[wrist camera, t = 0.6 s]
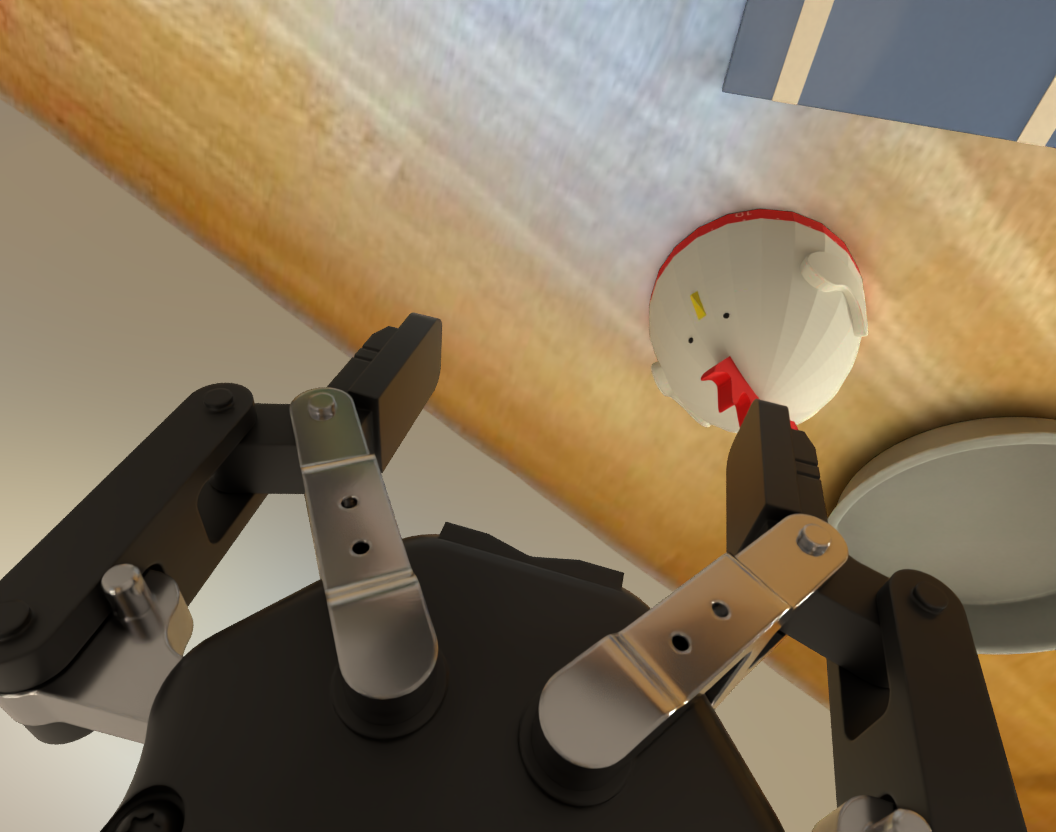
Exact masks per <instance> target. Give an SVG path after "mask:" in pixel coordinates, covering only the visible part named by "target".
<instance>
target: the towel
mask: <svg viewBox="0 0 1056 832" xmlns="http://www.w3.org/2000/svg"><path fill="white" fill-rule="evenodd" d="M722 92H726V93H732V94H738V95H744V96H750V97H756V98H762V99H768V100H772V101H776V102H782V103H788V104H794V105H803V106H809V107H815V108H821V109H827V110H833V111H839V112H845V113H851V114H857V115H863V116H869V117H875V118H881V119H886V120H892V121H898V122H904V123H910V124H916V125H922V126H928V127H934V128H940V129H946V130H952V131H958V132H964V133H970V134H976V135H982V136H988V137H993V138H999V139H1005V140H1011V141H1016V142H1020V143H1026V144H1032V145H1038V146H1043V147H1044V146H1047V147H1053V148H1056V0H747V2H746V6H745V9H744V13H743V16H742V20H741V23H740V27H739V31H738V34H737V38H736V41H735V45H734V49H733V52H732V56H731V59H730V63H729V66H728V70H727V74H726V77H725V81H724V84H723V88H722Z"/></svg>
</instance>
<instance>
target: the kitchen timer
mask: <svg viewBox="0 0 1056 832" xmlns="http://www.w3.org/2000/svg"><path fill="white" fill-rule="evenodd" d="M649 327H650V340H651V343H652V346H653V349H654V352H655V354H656V357H657V360H658V362H655V363H653V364H652V366H651V370H652V374H653V377H654V380H655V382H656V384H657V386H658V388H659V390H660V391H661V393H662V394H663V395H665V396H668V397H671V398H672V399H674V400H675V401H676V402H677V403H678V404H680V405H681V406H682V407H683V408H684V409H685V410H686V411H687V412H688V413H689V414H690V415H691V416H692V417H693V418H694V419H695V420H696V421H697V422H698V423H699V424H700V425H702V426H704V427H709V426H710V425H711V424H712V425H714V426H716V427H719V428H721V429H724V430H726V431H729V432H734V433H738V431H739V429H740V427H741V425H742V423H743V421H744V418H745V416H746V414H747V412H748V410H749V408H750V406H751V404H752V402H753V401H754V400H755V399H760V400H764V401H768V402H772V403H776V404H780V405H784V406H787V407H788V409H789V416H790V424H791V429H795V430H798V428H797V426H796V425H798V424H800V423H802V422H803V421H805V420H807V419H809V418H811V417H812V416H813V415H815V414H816V413H817V412H818V411H819V410H820V409H821V408H822V407H823V406H825V405H826V404H827V403H828V402H829V401H830V400H831V399H832V398H833V397H834V396H835V395H836V393H837V392H838V390H839V389H840V387H841V385H842V384H843V382H844V381H845V379H846V377H847V376H848V374H849V372H850V371H851V369H852V367H853V364H854V361H855V358H856V355H857V352H858V349H859V345H860V341H861V336H867V335H868V322H867V315H866V304H865V297H864V290H863V283H862V277H861V274H860V272H859V269H858V267H857V265H856V263H855V261H854V260H853V258H852V256H851V254H850V252H849V251H848V249H847V247H846V245H845V243H844V242H843V241H842V240H840V239H839V238H838V237H837V236H836V235H835V234H833V233H832V232H831V231H830V230H829V229H827V228H826V227H825V226H824V225H823V224H822V223H819V222H817V221H814V220H812V219H809V218H807V217H804V216H802V215H799V214H797V213H794V212H789V211H778V210H767V209H756V210H750V211H745V212H739V213H733V214H728V215H725V216H723V217H721V218H719V219H717V220H714V221H712V222H710V223H708V224H706V225H704V226H701V227H699V228H698V229H696V230H695V231H694V232H693V233H692V234H690V235H689V236H688V237H687V238H685V239H684V240H683V241H682V242H681V243H679V244H678V245H677V246H676V247H675V248H674V249H673V251H672V252H671V254H670V255H669V257H668V258H667V260H666V261H665V262H664V264H663V265H662V267H661V268H660V270H659V272H658V275H657V279H656V282H655V285H654V288H653V291H652V294H651V299H650V304H649Z"/></svg>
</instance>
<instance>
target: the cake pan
mask: <svg viewBox="0 0 1056 832" xmlns="http://www.w3.org/2000/svg"><path fill="white" fill-rule="evenodd" d="M828 524H830V525H831V526H832V527H834V528H835V529H836V530H837V531H838V532H839V533H840V534H841V536H842V537H843V538H844V540H845V542H846V544H847V547H848V551H849V554H848V555H850V556H851V557H852V558H854V559H855V560H857V561H858V562H860V563H862V564H864V565H866V566H868V567H869V568H871V569H873V570H875V571H877V572H879V573H881V574H883V575H885V576H887V577H889V578H890V577H891V576H892V575H893V574H894V573H895V572H896V571H898V570H902V569H914V570H918V571H922V572H924V573H927V574H929V575H931V576H933V577H935V578H937V579H938V580H940V581H941V582H942V583H944V584H945V585H946V586H948V587H949V588H950V589H951V590H952V591H953V592H954V593H955V594H956V596H957V597H958V598H959V600H960V601H961V603H962V605H963V607H964V609H965V612H966V615H967V619H968V623H969V626H970V630H971V633H972V637H973V640H974V644H975V647H976V651H977V654H1021V653H1034V652H1043V651H1052V650H1056V420H1052V419H1045V418H1034V417H997V418H984V419H976V420H970V421H965V422H959V423H955V424H950V425H946V426H942V427H939V428H936V429H932V430H929V431H926V432H923V433H921V434H918V435H916V436H913V437H911V438H908V439H906V440H904V441H902V442H900V443H898V444H896V445H894V446H892V447H891V448H889V449H887V450H885V451H884V452H882V453H881V454H879V455H878V456H876V457H875V458H874V459H872V460H871V461H869V462H868V463H867V464H866V465H865V466H864V467H862V468H861V469H860V470H859V471H858V472H857V474H856V475H855V476H854V477H853V478H852V479H851V480H850V482H849V483H848V484H847V486H846V487H845V489H844V490H843V492H842V494H841V496H840V498H839V501H838V503H837V506H836V508H835V509H834V510H833V512H832V513H831V515H830V516H829V518H828Z"/></svg>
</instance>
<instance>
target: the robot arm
mask: <svg viewBox="0 0 1056 832" xmlns="http://www.w3.org/2000/svg"><path fill="white" fill-rule="evenodd" d="M441 344H442V322H441V320H440V319H438V318H434V317H429V316H425V315H421V314H417V313H411V314H410V315H409V316H408V317H407V318H406V319H405V321H404V322H403V323H402V324H401V326H400V327H399V328H395V327H391V326H388V327H386V328H384V329H382V330H380V331H378V332H376V333H374V334H372V335H371V337H370V338H369V339H368V340H367V341H366V342H365V343H364V345H363V346H362V348H360V349H359V350H358V352H357V353H356V354H355V356H354V358H353V357H352V358H351V360H350V361H349V362H348V363H347V364H346V365H345V367H344V368H343V369H342V370H341V371H340V372H339V373H338V375H337V376H336V377H335V378H334V379H333V380H332V382H331V383H330V384H329V385H328V386H327V387H321V388H315V389H311V390H307V391H305V392H303V393H301V394H299V395H298V396H297V397H295V398H294V400H293V401H292V402H291V404H261V403H254V399H253V395H252V393H251V392H250V391H249V389H247V388H246V387H244V386H242V385H238V384H234V383H217V384H212V385H208V386H205V387H203V388H200V389H198V390H196V391H195V392H193V393H192V394H191V395H190V396H189V397H188V398H187V399H186V400H185V401H184V402H183V403H182V404H180V405H179V406H178V408H176V409H175V410H174V411H173V412H172V413H171V414H170V415H169V416H168V417H167V418H166V419H165V420H164V421H163V422H162V423H161V424H160V425H159V426H158V427H157V428H156V429H155V430H154V431H153V432H152V433H151V434H150V435H149V436H148V437H147V438H146V439H145V440H144V441H143V442H142V443H141V444H140V445H138V446H137V448H135V449H134V450H133V452H131V453H130V454H129V455H128V457H126V458H125V459H124V460H123V461H122V462H121V463H120V464H119V465H118V466H117V467H116V468H115V469H114V470H113V471H112V472H111V473H110V474H109V475H108V476H107V477H106V478H105V479H104V480H103V481H102V482H101V483H100V484H99V485H98V486H96V488H95V489H93V490H92V492H90V493H89V494H88V495H87V496H86V497H85V498H84V499H83V500H82V501H81V502H80V503H79V504H78V505H77V506H76V507H75V508H74V509H73V510H72V511H71V512H70V513H69V514H68V515H67V516H66V517H65V518H64V519H63V520H62V521H61V522H60V523H59V524H58V525H57V526H56V527H55V528H53V529H52V530H51V531H50V532H49V533H48V534H47V535H46V536H45V537H44V538H43V539H42V540H41V541H40V542H39V543H38V544H37V545H36V546H35V547H34V548H33V549H32V550H31V551H30V552H29V553H28V554H27V555H26V556H25V557H24V558H23V559H22V560H21V561H20V562H19V563H18V564H17V565H16V566H15V567H14V568H13V569H11V570H10V571H9V572H8V573H7V574H6V575H5V576H4V577H3V578H2V579H1V580H0V707H1V708H2V709H3V710H4V711H5V712H6V713H7V714H8V715H9V716H10V717H11V718H13V720H15V721H16V722H18V723H20V724H23V725H24V726H25V727H26V728H27V729H28V730H29V731H30V732H31V733H32V734H33V735H34V736H35V737H36V738H37V739H38V740H40V741H42V742H44V743H48V744H65V743H69V742H73V741H75V740H78V739H80V738H83V737H85V736H87V735H88V734H90V733H92V732H93V731H98V732H102V733H106V734H109V735H113V736H116V737H121V738H124V739H128V740H131V741H135V742H139V743H143V744H144V747H143V750H142V754H141V758H140V761H139V764H138V767H137V769H136V772H135V775H134V778H133V780H132V782H131V784H130V786H129V789H128V791H127V793H126V795H125V797H124V799H123V801H122V803H121V804H120V806H119V808H118V809H117V811H116V812H115V813H114V815H113V816H112V818H111V819H110V820H109V821H108V823H107V824H106V825H105V826H104V827H103V829H102V830H101V831H100V832H785V831H784V829H783V827H782V825H781V823H780V821H779V819H778V817H777V816H776V814H775V812H774V810H773V809H772V807H771V805H770V804H769V802H768V800H767V799H766V797H765V795H764V794H763V792H762V790H761V788H760V787H759V785H758V783H757V782H756V780H755V778H754V777H753V775H752V773H751V772H750V770H749V768H748V766H747V765H746V763H745V761H744V760H743V758H742V756H741V754H740V753H739V751H738V750H737V748H736V746H735V744H734V743H733V741H732V739H731V738H730V736H729V734H728V733H727V731H726V729H725V728H724V726H723V724H722V722H721V721H720V719H719V717H718V716H717V714H716V712H715V709H716V708H717V706H718V705H719V704H720V703H721V702H722V701H723V700H724V699H725V698H726V697H727V696H728V695H729V694H730V692H731V691H732V690H733V689H734V688H735V686H737V684H738V683H739V682H740V681H741V680H742V679H743V678H744V677H745V676H746V675H748V674H749V673H750V672H751V671H752V670H753V669H754V668H755V667H756V666H757V665H758V664H759V663H760V662H761V661H762V660H763V659H764V658H765V657H766V656H767V655H768V654H769V653H770V652H772V651H773V650H774V649H775V648H776V647H777V646H778V645H779V644H780V643H781V642H782V641H783V640H784V639H785V638H786V637H787V636H790V637H792V638H793V639H795V640H797V641H798V642H800V643H802V644H804V645H805V646H807V647H809V648H810V649H812V650H814V651H815V652H817V653H819V654H820V655H822V656H824V657H826V658H827V672H828V687H829V701H830V713H831V714H830V715H831V728H832V742H833V757H834V771H835V785H836V800H837V809H836V810H834V811H833V812H831V813H830V814H828V815H827V816H826V817H824V818H823V819H821V820H820V821H819V822H818V823H817V824H816V825H815V826H814V828H813V830H812V832H1027V829H1026V825H1025V822H1024V818H1023V815H1022V811H1021V808H1020V804H1019V800H1018V797H1017V793H1016V790H1015V786H1014V783H1013V779H1012V776H1011V772H1010V768H1009V765H1008V761H1007V758H1006V754H1005V751H1004V747H1003V744H1002V740H1001V736H1000V733H999V729H998V726H997V722H996V719H995V715H994V712H993V708H992V704H991V701H990V697H989V694H988V690H987V687H986V683H985V679H984V676H983V672H982V669H981V665H980V662H979V658H978V655H977V651H976V647H975V644H974V640H973V637H972V633H971V630H970V626H969V623H968V619H967V615H966V612H965V609H964V607H963V605H962V603H961V601H960V600H959V598H958V597H957V596H956V594H955V593H954V592H953V591H952V590H951V589H950V588H949V587H948V586H946V585H945V584H944V583H942V582H941V581H940V580H938V579H937V578H935V577H933V576H931V575H929V574H927V573H924V572H922V571H918V570H914V569H902V570H898V571H896V572H895V573H894V574H893V575H892V576H891V577H890V578H889V577H887V576H885V575H883V574H881V573H879V572H877V571H875V570H873V569H871V568H869V567H868V566H866V565H864V564H862V563H860V562H858V561H857V560H855V559H854V558H852V557H851V556H850V555H848V554H849V551H848V547H847V544H846V542H845V540H844V538H843V537H842V536H841V534H840V533H839V532H838V531H837V530H836V529H835V528H834V527H832V526H831V525H830V524H828V519H827V514H826V508H825V502H824V496H823V490H822V484H821V480H819V479H820V473H819V467H817V465H818V461H817V455H816V449H815V447H814V445H813V444H812V443H811V441H810V440H809V438H808V437H807V435H806V434H805V432H803V431H799V430H795V429H791V424H790V416H789V409H788V407H787V406H784V405H780V404H776V403H772V402H768V401H764V400H760V399H755V400H754V401H753V402H752V404H751V406H750V408H749V410H748V412H747V414H746V416H745V418H744V421H743V423H742V425H741V427H740V429H739V431H738V433H737V435H736V437H735V440H734V442H733V444H732V446H731V449H730V452H729V456H728V460H727V469H726V511H727V553H725V554H723V555H722V556H721V557H719V558H718V559H716V560H715V561H714V562H712V563H711V564H710V565H708V566H707V567H706V568H704V569H703V570H702V571H700V572H699V573H698V574H696V575H695V576H694V577H692V578H691V579H690V580H688V581H687V582H686V583H684V584H683V585H682V586H680V587H679V588H678V589H676V590H675V591H674V592H672V593H671V594H670V595H669V596H667V597H666V598H665V599H663V600H662V601H661V602H659V603H658V604H657V605H655V606H654V607H653V608H651V609H650V607H649V606H648V605H646V604H645V603H644V602H643V601H642V600H641V599H639V598H638V597H637V596H635V595H634V594H633V593H631V592H630V591H628V590H626V589H624V588H623V587H622V582H623V576H624V573H623V572H619V571H616V570H612V569H609V568H605V567H602V566H598V565H595V564H591V563H588V562H585V561H581V560H571V559H557V558H542V557H532V556H529V555H526V554H524V553H523V552H521V551H519V550H517V549H515V548H513V547H512V546H510V545H508V544H506V543H504V542H502V541H501V540H499V539H497V538H495V537H493V536H491V535H490V534H487V533H483V532H480V531H476V530H473V529H469V528H466V527H463V526H459V525H456V524H452V523H449V522H445V525H444V527H443V529H442V531H441V533H440V534H428V535H417V536H411V537H407V538H404V539H402V538H401V535H400V531H399V528H398V525H397V522H396V519H395V516H394V512H393V509H392V507H391V503H390V500H389V497H388V493H387V491H386V487H385V484H384V481H383V478H382V475H381V473H383V471H384V470H385V468H386V466H387V465H388V463H389V461H390V460H391V458H392V457H393V455H394V454H395V452H396V450H397V449H398V447H399V446H400V444H401V442H402V441H403V439H404V438H405V436H406V434H407V433H408V431H409V430H410V428H411V427H412V425H413V423H414V422H415V420H416V419H417V417H418V416H419V414H420V412H421V411H422V409H423V408H424V406H425V404H426V403H427V401H428V400H429V398H430V396H431V395H432V393H433V392H434V390H435V388H436V385H437V383H438V379H439V375H440V369H441ZM268 494H304V496H305V501H306V506H307V511H308V517H309V522H310V527H311V532H312V537H313V543H314V548H315V553H316V559H317V564H318V569H319V575H320V580H318V581H316V582H314V583H312V584H310V585H308V586H306V587H304V588H303V589H301V590H299V591H297V592H295V593H293V594H291V595H289V596H287V597H285V598H283V599H281V600H279V601H278V602H276V603H274V604H272V605H270V606H268V607H266V608H264V609H262V610H260V611H259V612H256V613H254V614H253V615H251V616H249V617H247V618H245V619H243V620H241V621H239V622H237V623H235V624H233V625H231V626H229V627H227V628H226V629H224V630H222V631H220V632H218V633H216V634H214V635H212V636H211V637H209V638H207V639H205V640H204V641H202V642H201V643H200V644H198V645H197V646H196V647H194V648H193V649H192V650H191V651H190V652H188V653H187V654H186V655H185V656H184V657H183V653H184V650H185V648H186V645H187V644H188V642H189V639H190V638H191V635H192V631H193V619H192V616H191V614H190V611H189V609H188V606H189V604H190V603H191V602H192V600H193V599H194V597H195V596H196V595H197V593H198V592H199V590H200V589H201V588H202V586H203V585H204V583H205V582H206V581H207V579H208V578H209V576H210V575H211V574H212V572H213V571H214V569H215V568H216V567H217V565H218V564H219V562H220V561H221V560H222V558H223V557H224V555H225V554H226V553H227V551H228V550H229V548H230V547H231V546H232V544H233V542H234V541H235V540H236V538H237V537H238V536H239V534H240V533H241V531H242V530H243V528H244V527H245V526H246V524H247V523H248V522H249V520H250V519H251V517H252V516H253V514H254V513H255V512H256V510H257V509H258V508H259V506H260V505H261V503H262V502H263V500H264V499H265V498H266V496H267V495H268Z"/></svg>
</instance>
